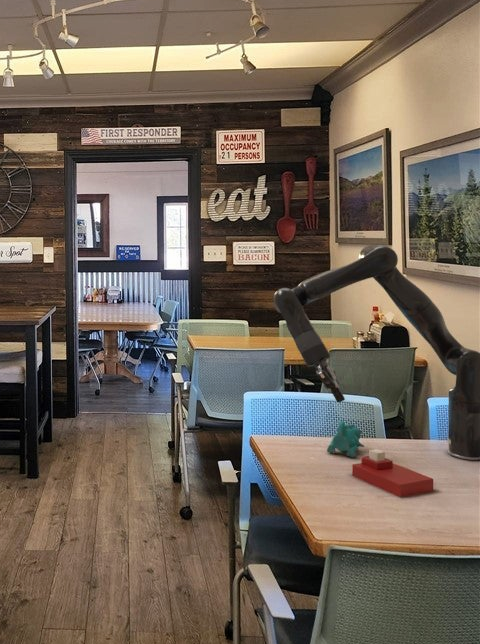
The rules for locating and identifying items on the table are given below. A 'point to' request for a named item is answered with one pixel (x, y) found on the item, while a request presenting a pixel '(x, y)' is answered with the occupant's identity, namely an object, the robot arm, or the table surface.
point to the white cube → (377, 455)
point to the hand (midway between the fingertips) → (341, 401)
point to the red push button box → (392, 477)
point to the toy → (346, 440)
